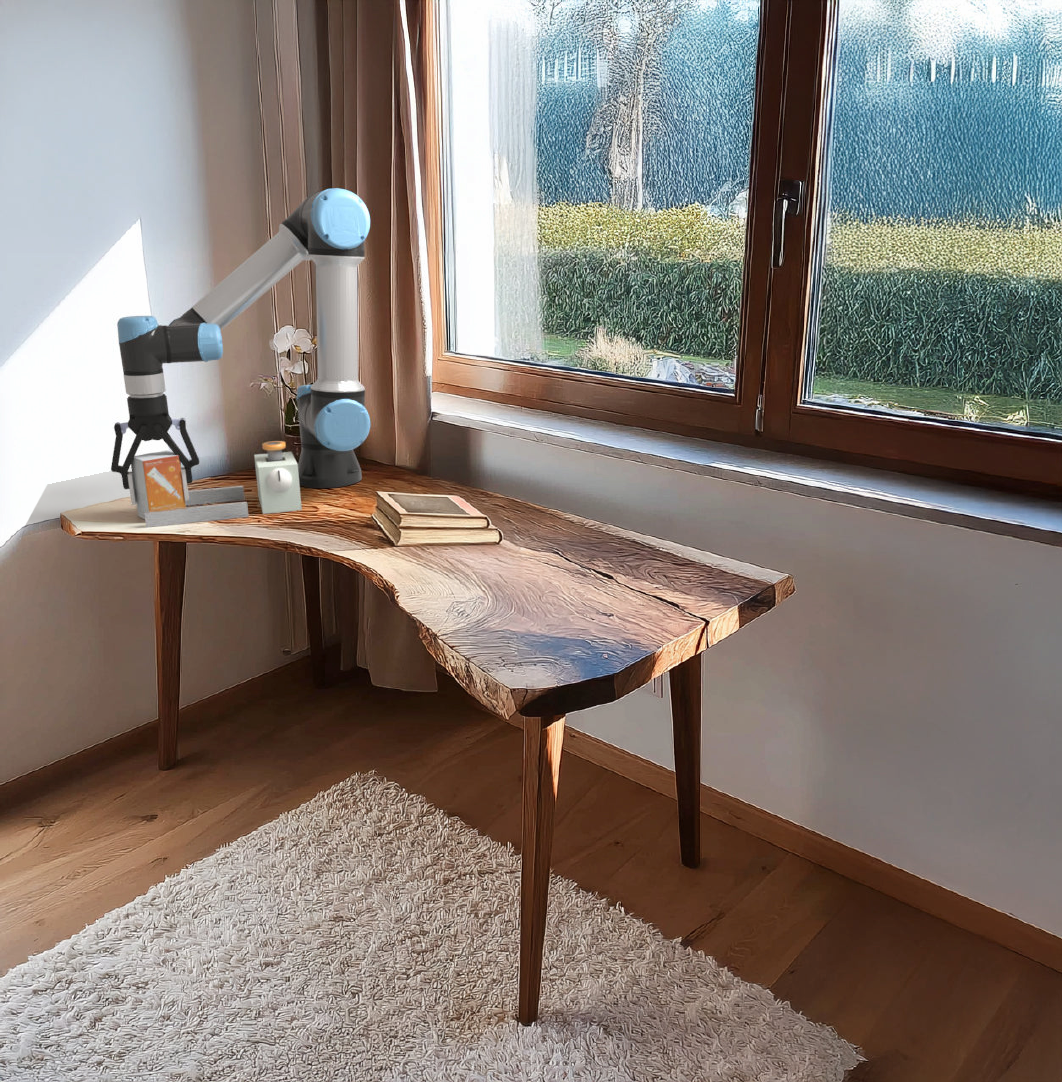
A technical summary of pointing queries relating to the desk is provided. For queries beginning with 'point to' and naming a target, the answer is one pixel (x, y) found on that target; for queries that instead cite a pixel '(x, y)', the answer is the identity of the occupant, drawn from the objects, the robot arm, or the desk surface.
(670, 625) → the desk surface
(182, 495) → the small box
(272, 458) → the button
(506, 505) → the desk surface
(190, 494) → the guide rails
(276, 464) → the gauge cabinet
